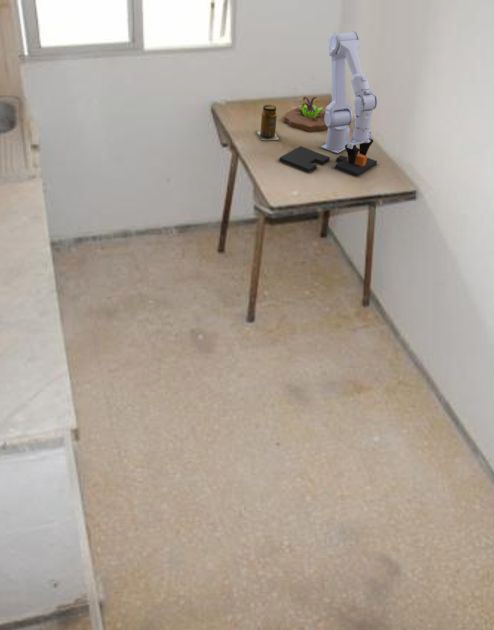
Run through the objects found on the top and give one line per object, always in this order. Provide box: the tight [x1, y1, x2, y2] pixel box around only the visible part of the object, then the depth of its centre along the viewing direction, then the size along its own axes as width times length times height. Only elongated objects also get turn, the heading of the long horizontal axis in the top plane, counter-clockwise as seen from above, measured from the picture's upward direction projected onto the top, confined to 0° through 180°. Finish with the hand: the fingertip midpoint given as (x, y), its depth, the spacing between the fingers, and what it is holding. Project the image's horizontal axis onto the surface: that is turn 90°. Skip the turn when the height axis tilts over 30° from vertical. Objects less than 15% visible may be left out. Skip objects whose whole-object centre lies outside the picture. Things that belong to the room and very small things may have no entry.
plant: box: [283, 96, 328, 133], centre depth 304 cm, size 20×20×11 cm
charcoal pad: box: [334, 152, 378, 178], centre depth 275 cm, size 14×13×5 cm
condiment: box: [256, 104, 280, 141], centre depth 290 cm, size 7×8×12 cm
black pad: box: [278, 145, 331, 174], centre depth 277 cm, size 14×14×2 cm
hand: (356, 160), depth 274 cm, fingers open, 7 cm apart
